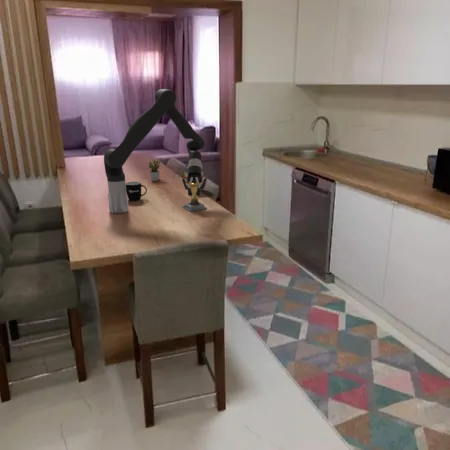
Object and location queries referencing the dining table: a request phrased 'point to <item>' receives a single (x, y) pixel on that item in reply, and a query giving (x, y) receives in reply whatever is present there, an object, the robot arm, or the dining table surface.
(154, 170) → the house plant
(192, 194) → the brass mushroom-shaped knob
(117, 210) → the robot arm
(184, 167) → the reusable coffee cup
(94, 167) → the dining table surface
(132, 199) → the mug
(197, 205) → the square tray with knobs
